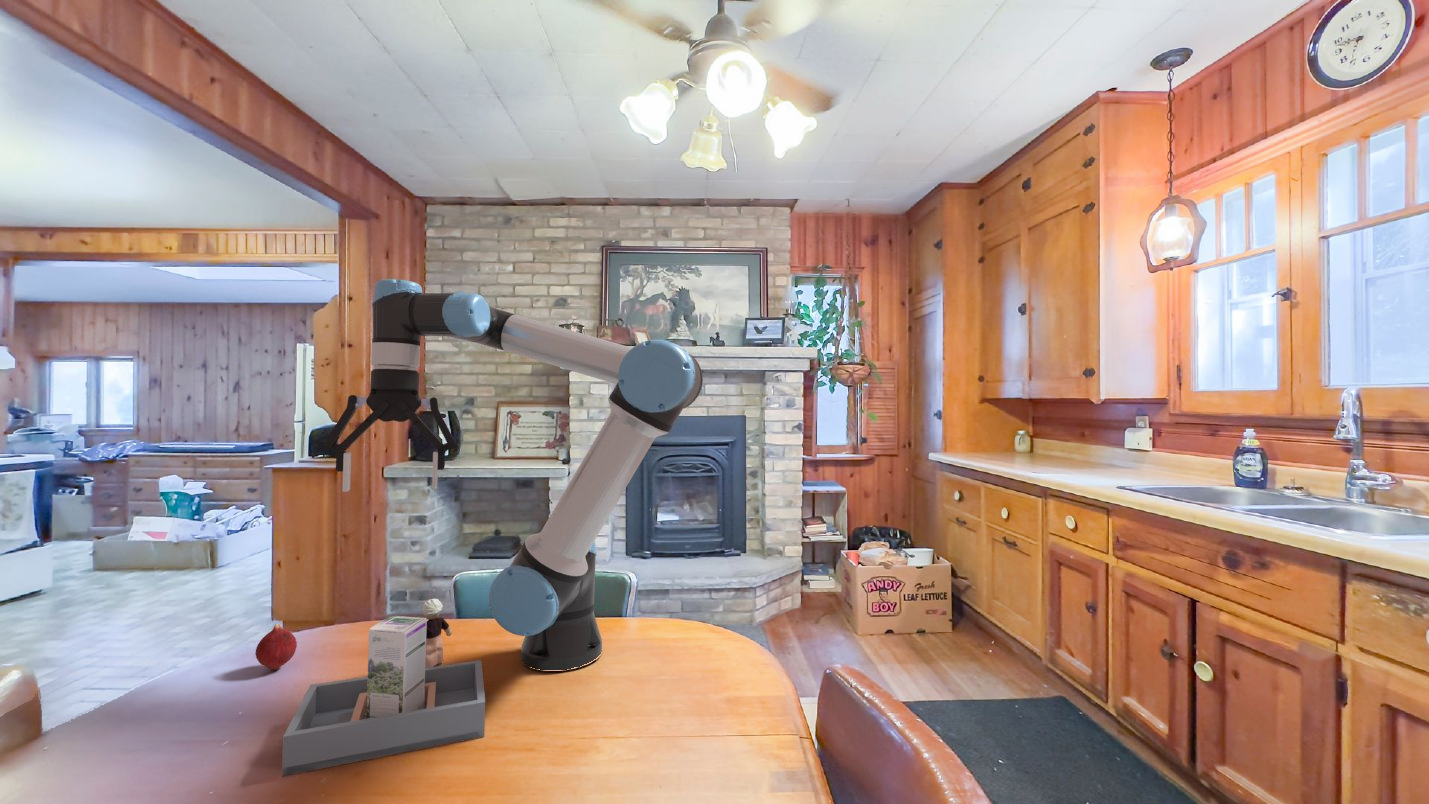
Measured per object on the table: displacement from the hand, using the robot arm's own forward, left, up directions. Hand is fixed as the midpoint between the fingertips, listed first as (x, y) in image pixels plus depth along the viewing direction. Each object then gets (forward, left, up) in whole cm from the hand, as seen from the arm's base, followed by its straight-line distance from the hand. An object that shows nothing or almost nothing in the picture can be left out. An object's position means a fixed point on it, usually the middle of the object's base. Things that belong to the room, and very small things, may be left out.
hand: (391, 489), depth 101 cm
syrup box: (-3, +19, -32) cm, 37 cm away
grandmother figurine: (-7, 0, -33) cm, 34 cm away
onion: (+18, -10, -33) cm, 39 cm away
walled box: (-3, +19, -33) cm, 38 cm away
